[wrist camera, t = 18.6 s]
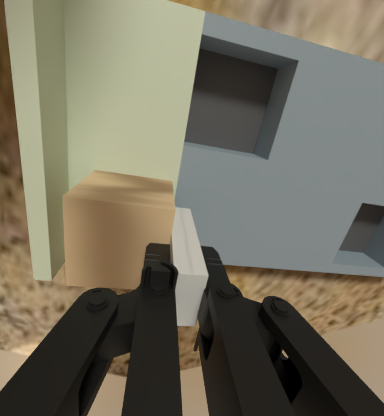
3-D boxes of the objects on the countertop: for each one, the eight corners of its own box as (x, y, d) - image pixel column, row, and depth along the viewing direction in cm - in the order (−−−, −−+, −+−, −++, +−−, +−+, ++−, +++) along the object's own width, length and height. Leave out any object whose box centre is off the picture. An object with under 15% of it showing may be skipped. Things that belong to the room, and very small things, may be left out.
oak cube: (172, 181, 15) (175, 210, 10) (162, 243, 17) (161, 291, 12) (95, 169, 14) (62, 196, 10) (94, 236, 16) (65, 285, 11)
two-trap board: (487, 110, 19) (618, 109, 14) (392, 261, 25) (457, 303, 19) (65, -5, 13) (-7, -93, 7) (71, 231, 19) (33, 279, 13)
